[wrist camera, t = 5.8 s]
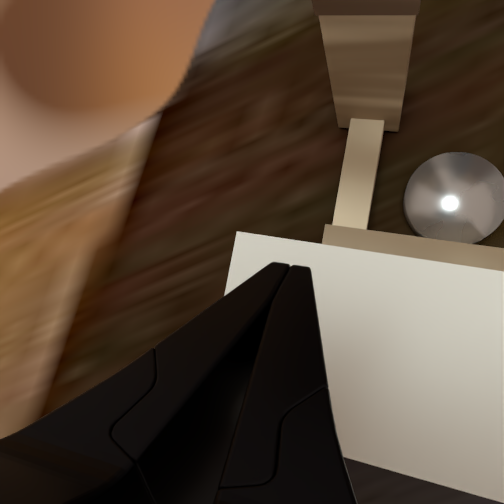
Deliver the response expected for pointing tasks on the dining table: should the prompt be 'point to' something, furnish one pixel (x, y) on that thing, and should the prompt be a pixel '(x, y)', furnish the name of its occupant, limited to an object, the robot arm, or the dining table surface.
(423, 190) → the grey metal disc
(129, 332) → the dining table surface
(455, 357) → the cream rectangular box
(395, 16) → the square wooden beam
